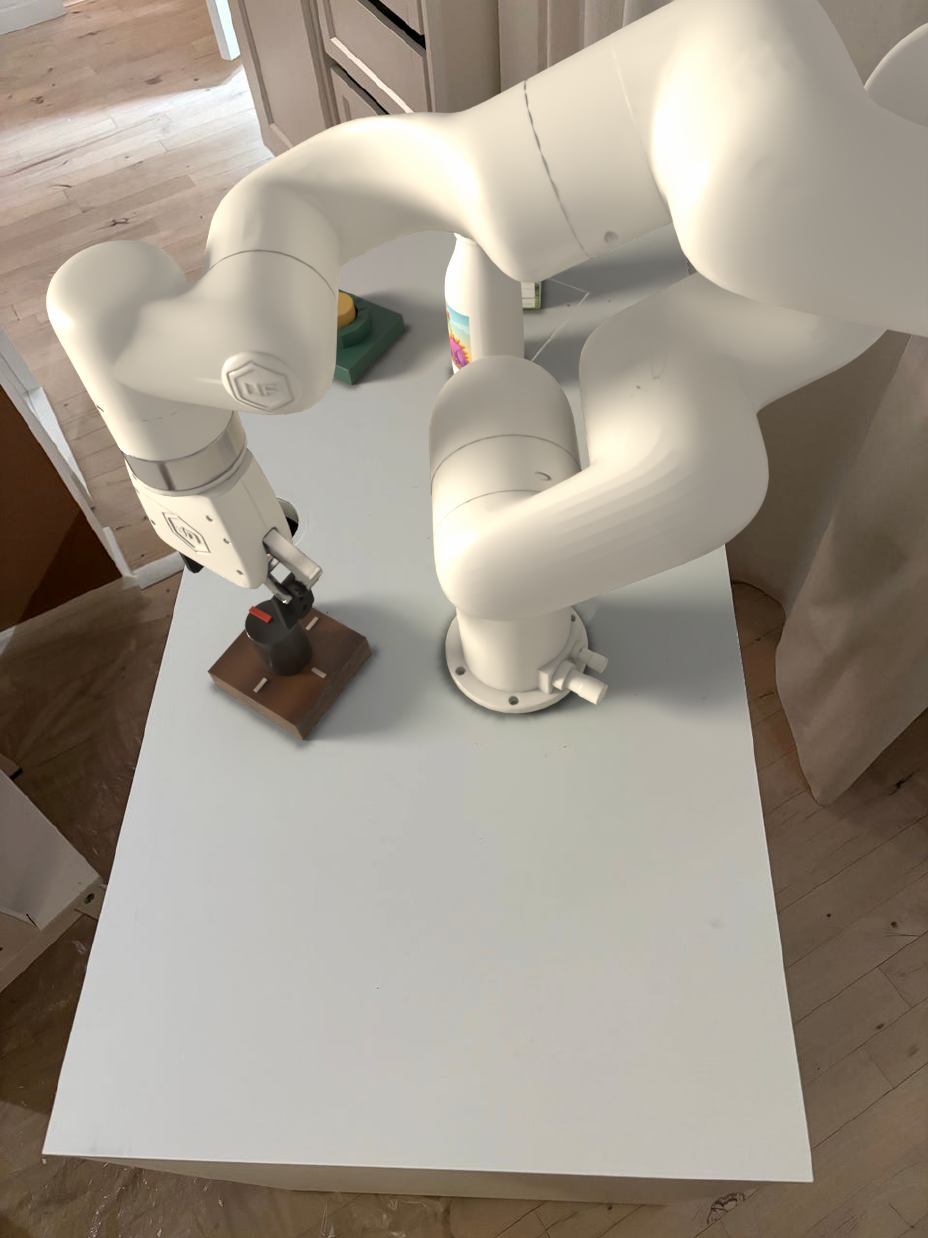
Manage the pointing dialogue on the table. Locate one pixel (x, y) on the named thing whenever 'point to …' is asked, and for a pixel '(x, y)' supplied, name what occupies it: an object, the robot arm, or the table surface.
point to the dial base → (304, 692)
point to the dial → (277, 640)
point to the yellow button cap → (345, 310)
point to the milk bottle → (481, 307)
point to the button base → (365, 338)
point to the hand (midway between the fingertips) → (251, 586)
